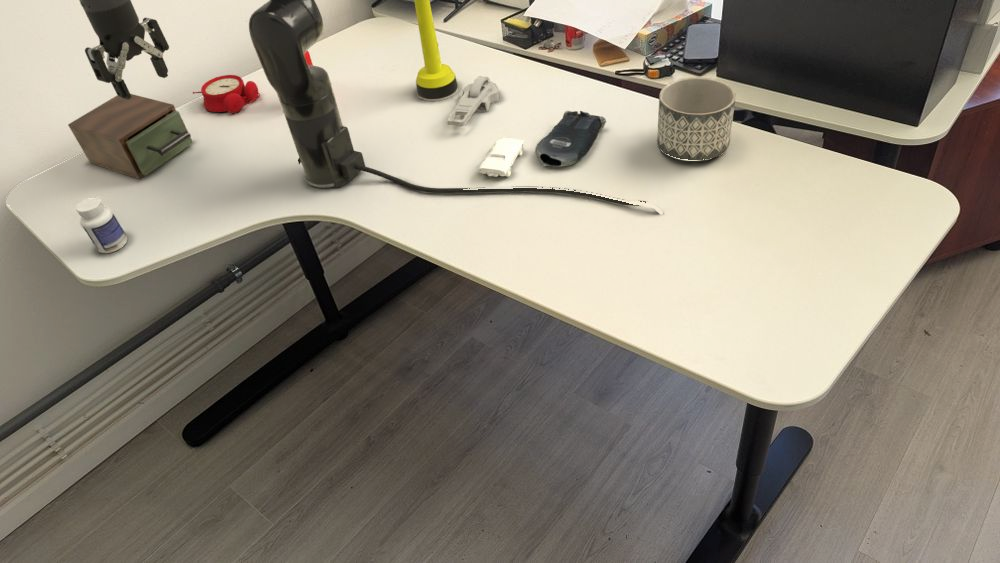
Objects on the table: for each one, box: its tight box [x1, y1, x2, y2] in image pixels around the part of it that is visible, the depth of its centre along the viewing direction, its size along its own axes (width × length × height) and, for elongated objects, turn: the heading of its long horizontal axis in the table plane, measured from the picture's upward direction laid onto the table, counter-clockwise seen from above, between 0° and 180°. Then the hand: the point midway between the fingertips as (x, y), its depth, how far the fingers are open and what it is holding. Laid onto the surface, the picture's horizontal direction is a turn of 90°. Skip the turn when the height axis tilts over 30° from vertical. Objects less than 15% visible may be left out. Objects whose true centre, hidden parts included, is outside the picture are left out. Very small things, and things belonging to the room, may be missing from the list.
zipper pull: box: [447, 75, 500, 127], centre depth 147 cm, size 8×18×4 cm, turn 161°
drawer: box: [124, 110, 194, 176], centre depth 145 cm, size 19×12×7 cm, turn 60°
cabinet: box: [67, 93, 177, 180], centre depth 147 cm, size 16×14×9 cm
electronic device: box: [535, 110, 607, 168], centre depth 134 cm, size 9×6×15 cm
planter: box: [656, 76, 737, 160], centre depth 128 cm, size 13×13×10 cm
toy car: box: [478, 137, 525, 178], centre depth 133 cm, size 6×12×3 cm, turn 160°
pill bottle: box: [75, 197, 128, 254], centre depth 125 cm, size 5×5×9 cm
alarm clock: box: [192, 74, 261, 114], centre depth 161 cm, size 10×6×15 cm
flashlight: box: [413, 0, 459, 102], centre depth 148 cm, size 25×9×9 cm
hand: (145, 87), depth 134 cm, fingers open, 8 cm apart
